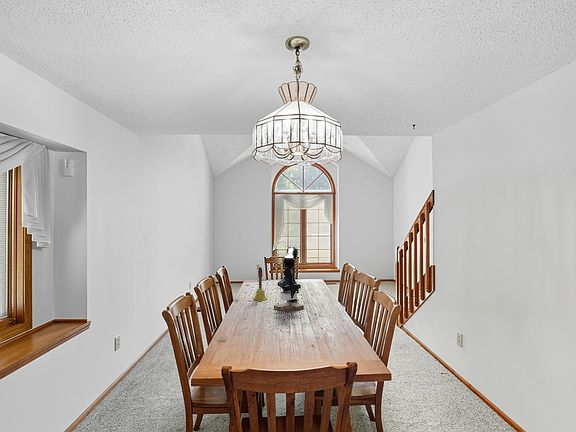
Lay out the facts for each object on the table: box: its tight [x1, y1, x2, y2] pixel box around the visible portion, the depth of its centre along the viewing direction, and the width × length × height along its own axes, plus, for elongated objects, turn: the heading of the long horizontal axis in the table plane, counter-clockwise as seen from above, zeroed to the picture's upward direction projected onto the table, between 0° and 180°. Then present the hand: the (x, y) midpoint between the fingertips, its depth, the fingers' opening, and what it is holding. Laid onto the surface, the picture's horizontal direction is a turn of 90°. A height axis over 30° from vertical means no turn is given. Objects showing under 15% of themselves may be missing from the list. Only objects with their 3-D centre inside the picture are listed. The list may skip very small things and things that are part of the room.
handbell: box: [252, 266, 269, 302], centre depth 307 cm, size 12×12×25 cm
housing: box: [280, 291, 298, 302], centre depth 274 cm, size 10×6×5 cm, turn 125°
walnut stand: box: [273, 301, 305, 313], centre depth 274 cm, size 14×16×2 cm
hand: (288, 297), depth 274 cm, fingers closed on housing, 6 cm apart
